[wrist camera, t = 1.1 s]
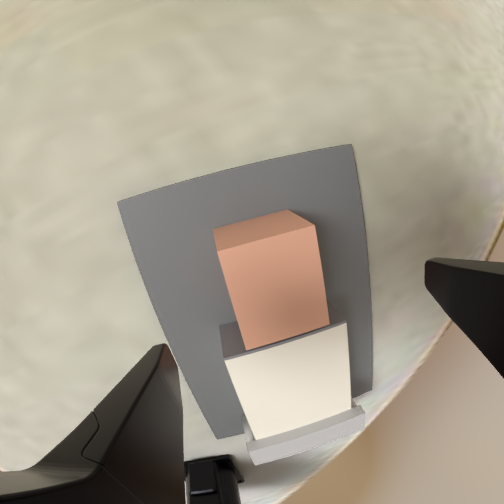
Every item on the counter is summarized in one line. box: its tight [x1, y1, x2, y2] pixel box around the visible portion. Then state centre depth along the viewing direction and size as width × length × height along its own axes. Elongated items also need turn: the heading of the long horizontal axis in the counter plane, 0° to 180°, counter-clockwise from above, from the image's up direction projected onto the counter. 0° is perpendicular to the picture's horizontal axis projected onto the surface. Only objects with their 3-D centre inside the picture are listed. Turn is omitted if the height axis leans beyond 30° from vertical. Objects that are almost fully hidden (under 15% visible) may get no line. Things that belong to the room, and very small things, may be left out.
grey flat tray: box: [117, 144, 372, 465], centre depth 20 cm, size 23×16×6 cm
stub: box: [213, 209, 330, 350], centre depth 18 cm, size 6×5×5 cm
